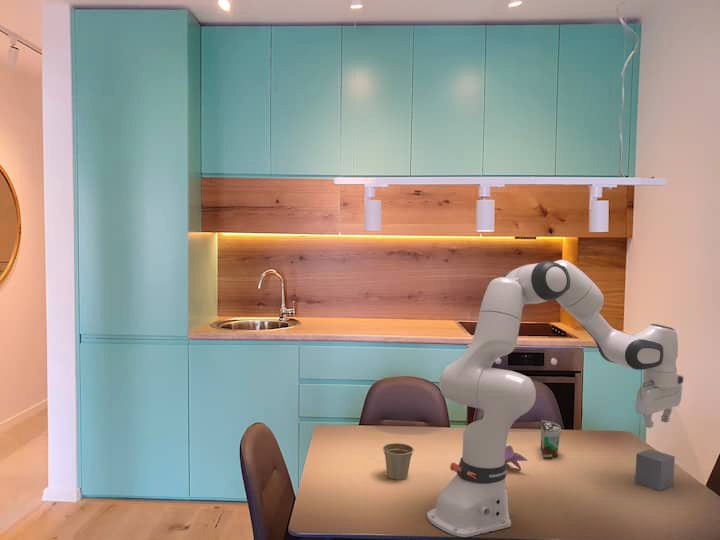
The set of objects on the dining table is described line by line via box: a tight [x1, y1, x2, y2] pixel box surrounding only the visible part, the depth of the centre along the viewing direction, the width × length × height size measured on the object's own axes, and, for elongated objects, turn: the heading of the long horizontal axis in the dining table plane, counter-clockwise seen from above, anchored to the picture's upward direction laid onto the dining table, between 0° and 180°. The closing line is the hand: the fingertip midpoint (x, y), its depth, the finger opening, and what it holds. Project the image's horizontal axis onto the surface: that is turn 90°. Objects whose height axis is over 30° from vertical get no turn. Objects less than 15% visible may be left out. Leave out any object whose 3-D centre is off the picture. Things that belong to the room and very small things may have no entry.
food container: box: [540, 419, 563, 460], centre depth 203 cm, size 12×6×10 cm, turn 168°
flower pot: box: [382, 442, 415, 481], centre depth 182 cm, size 9×9×9 cm
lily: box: [505, 445, 529, 470], centre depth 189 cm, size 12×12×10 cm
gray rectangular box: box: [634, 448, 676, 492], centre depth 180 cm, size 8×8×9 cm
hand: (657, 424), depth 180 cm, fingers open, 8 cm apart
